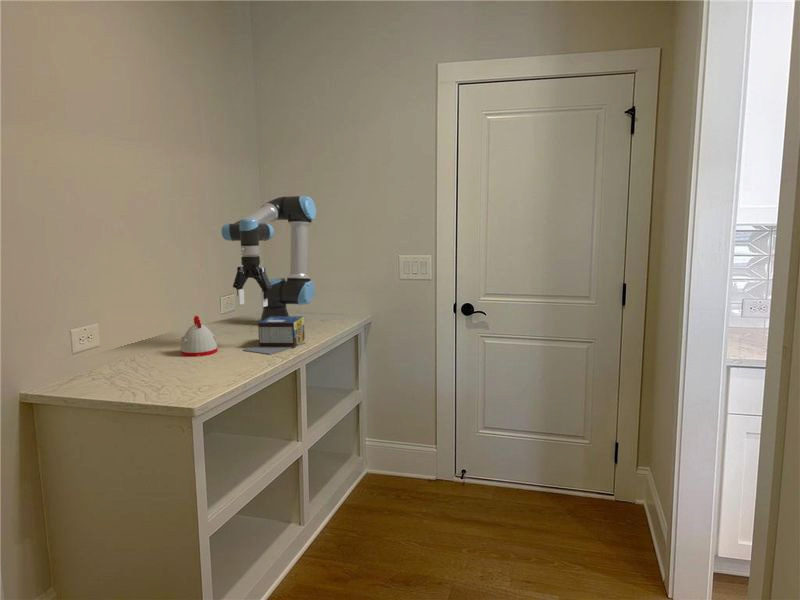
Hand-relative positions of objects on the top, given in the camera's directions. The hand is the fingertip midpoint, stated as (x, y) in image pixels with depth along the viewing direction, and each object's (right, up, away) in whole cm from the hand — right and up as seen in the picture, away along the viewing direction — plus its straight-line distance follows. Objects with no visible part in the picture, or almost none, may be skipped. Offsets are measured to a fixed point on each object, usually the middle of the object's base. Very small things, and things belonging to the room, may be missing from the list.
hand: (253, 305), depth 231 cm
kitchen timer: (-18, -19, -12) cm, 29 cm away
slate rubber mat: (+11, -17, -4) cm, 21 cm away
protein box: (+4, -11, +1) cm, 12 cm away
